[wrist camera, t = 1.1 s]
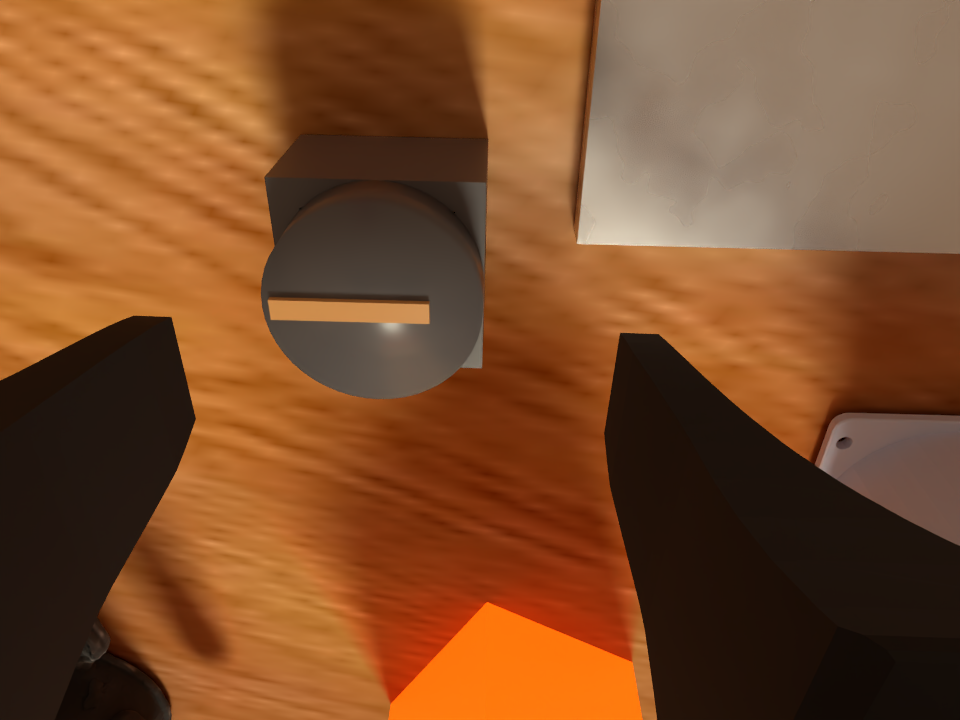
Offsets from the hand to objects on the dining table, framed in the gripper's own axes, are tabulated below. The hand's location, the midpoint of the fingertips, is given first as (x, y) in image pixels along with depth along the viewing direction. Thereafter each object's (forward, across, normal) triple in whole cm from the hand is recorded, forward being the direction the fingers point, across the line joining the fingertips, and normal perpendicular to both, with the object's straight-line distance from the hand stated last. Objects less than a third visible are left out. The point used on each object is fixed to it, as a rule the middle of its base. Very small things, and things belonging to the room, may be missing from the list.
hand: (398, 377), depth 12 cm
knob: (+10, +1, +1) cm, 10 cm away
